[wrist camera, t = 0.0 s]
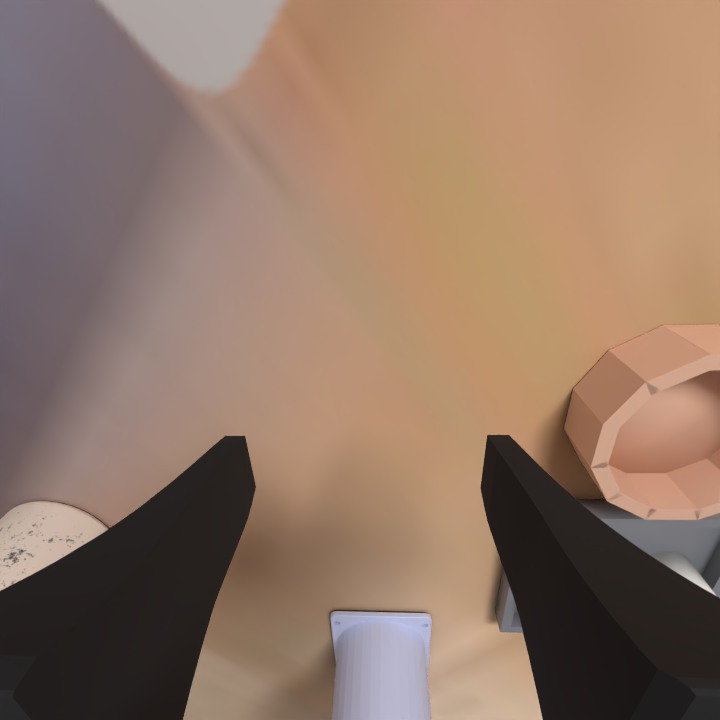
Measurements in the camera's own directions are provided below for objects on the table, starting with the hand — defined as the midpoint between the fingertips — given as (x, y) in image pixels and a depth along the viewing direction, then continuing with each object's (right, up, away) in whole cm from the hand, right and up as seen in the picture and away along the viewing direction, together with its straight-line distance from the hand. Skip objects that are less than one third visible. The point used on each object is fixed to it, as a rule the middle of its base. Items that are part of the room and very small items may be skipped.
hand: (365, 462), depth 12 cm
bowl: (+17, 0, +10) cm, 20 cm away
